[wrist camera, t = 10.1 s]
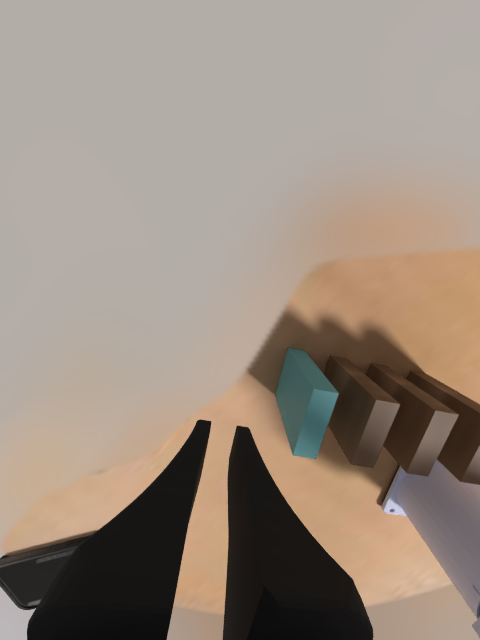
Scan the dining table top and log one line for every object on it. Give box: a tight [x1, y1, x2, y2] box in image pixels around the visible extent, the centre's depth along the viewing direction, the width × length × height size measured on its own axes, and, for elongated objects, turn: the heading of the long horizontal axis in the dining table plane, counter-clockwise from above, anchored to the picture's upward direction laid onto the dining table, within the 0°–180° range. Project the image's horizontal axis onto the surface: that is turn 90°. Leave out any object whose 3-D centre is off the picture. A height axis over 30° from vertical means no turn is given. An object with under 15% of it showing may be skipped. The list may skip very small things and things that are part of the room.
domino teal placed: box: [275, 348, 339, 459], centre depth 18 cm, size 2×5×7 cm, turn 168°
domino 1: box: [324, 356, 400, 468], centre depth 18 cm, size 2×5×7 cm, turn 169°
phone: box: [0, 536, 90, 610], centre depth 26 cm, size 8×1×15 cm
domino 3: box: [407, 371, 480, 485], centre depth 18 cm, size 2×5×7 cm, turn 168°
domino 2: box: [366, 363, 459, 477], centre depth 18 cm, size 2×5×7 cm, turn 169°
